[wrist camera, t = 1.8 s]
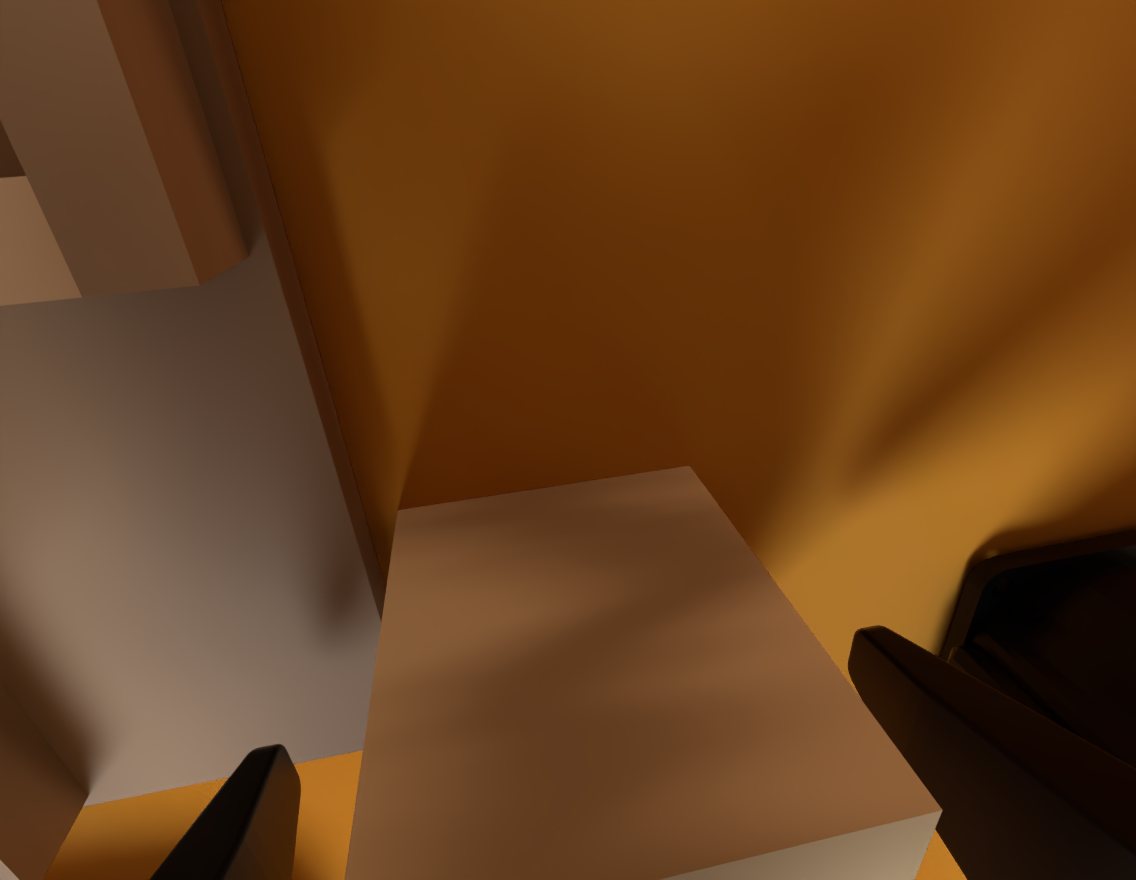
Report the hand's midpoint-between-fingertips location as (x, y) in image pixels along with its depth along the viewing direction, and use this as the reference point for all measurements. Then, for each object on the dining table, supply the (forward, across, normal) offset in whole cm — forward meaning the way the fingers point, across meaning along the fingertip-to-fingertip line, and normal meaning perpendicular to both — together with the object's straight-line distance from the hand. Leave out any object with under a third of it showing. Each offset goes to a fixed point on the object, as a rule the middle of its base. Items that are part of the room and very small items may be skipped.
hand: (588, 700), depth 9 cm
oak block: (+2, 0, 0) cm, 2 cm away
